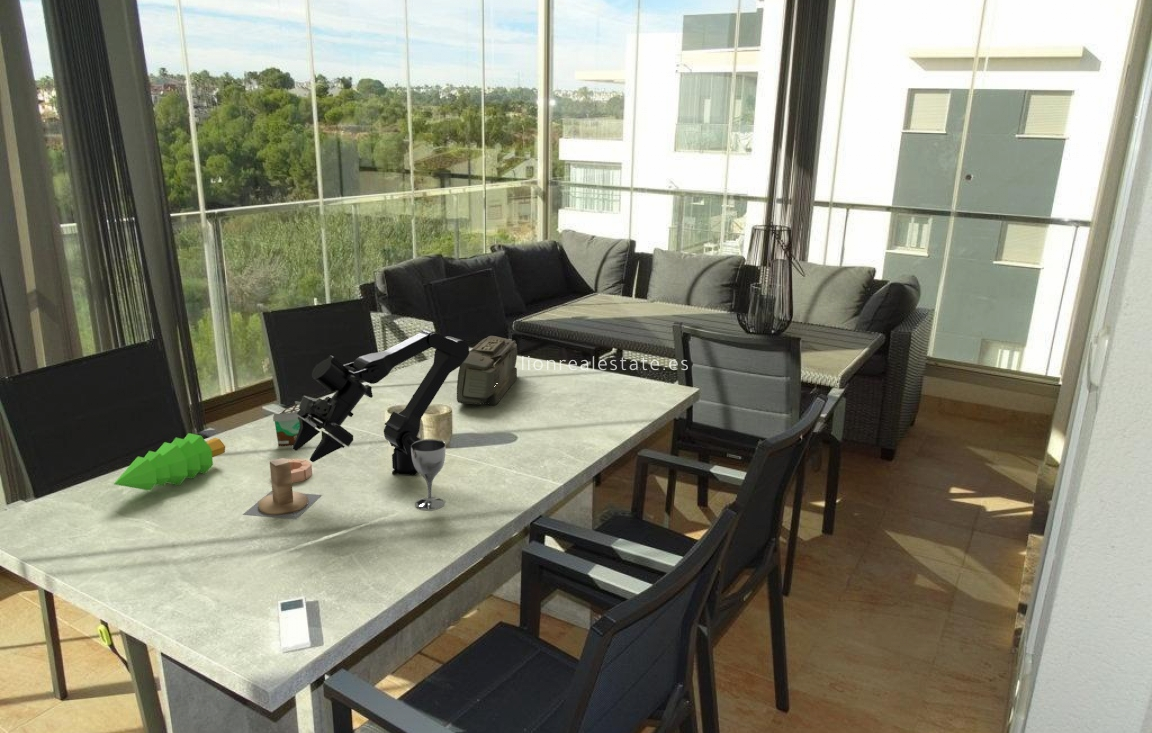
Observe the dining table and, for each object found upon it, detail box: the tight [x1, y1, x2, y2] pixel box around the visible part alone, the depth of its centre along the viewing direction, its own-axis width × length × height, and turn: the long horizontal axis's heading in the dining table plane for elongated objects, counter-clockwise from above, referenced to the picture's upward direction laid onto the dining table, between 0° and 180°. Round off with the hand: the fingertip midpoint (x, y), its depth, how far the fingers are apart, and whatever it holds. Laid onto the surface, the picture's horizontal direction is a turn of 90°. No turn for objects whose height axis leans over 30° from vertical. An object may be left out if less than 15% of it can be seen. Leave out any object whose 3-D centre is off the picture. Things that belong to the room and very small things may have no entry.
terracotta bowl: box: [287, 458, 313, 484], centre depth 202 cm, size 9×9×3 cm
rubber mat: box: [242, 490, 323, 520], centre depth 186 cm, size 13×13×1 cm
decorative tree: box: [113, 433, 226, 491], centre depth 195 cm, size 11×12×30 cm
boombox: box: [456, 335, 518, 406], centre depth 274 cm, size 44×17×20 cm, turn 171°
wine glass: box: [411, 438, 447, 511], centre depth 187 cm, size 8×8×15 cm
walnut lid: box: [258, 457, 308, 515], centre depth 184 cm, size 11×11×11 cm
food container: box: [272, 401, 301, 447], centre depth 225 cm, size 12×6×10 cm, turn 168°
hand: (302, 455), depth 186 cm, fingers open, 9 cm apart
